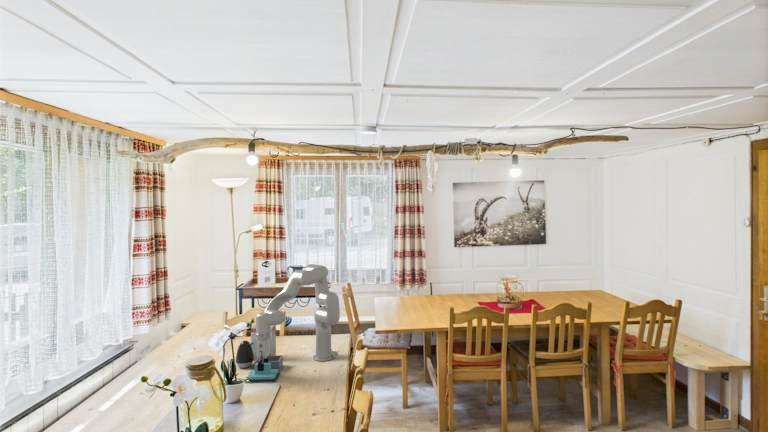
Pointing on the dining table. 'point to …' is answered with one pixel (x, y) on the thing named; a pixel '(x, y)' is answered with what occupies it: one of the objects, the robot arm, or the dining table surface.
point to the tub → (274, 362)
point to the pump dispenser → (244, 355)
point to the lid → (263, 373)
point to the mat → (265, 380)
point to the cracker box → (272, 339)
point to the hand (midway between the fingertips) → (263, 367)
